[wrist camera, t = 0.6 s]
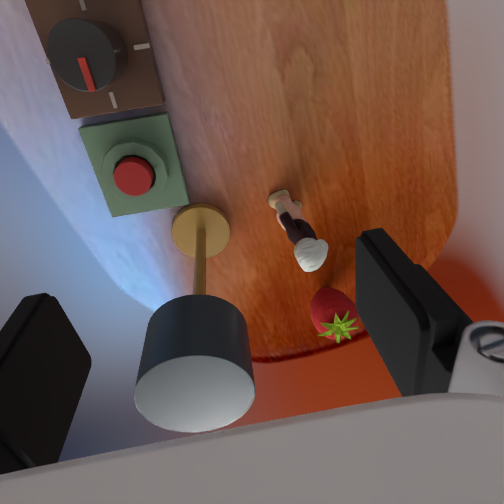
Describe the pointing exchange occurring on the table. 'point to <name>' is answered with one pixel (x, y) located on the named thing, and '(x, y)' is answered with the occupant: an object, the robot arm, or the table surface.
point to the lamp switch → (133, 176)
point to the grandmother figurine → (299, 231)
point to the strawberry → (333, 314)
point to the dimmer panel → (137, 45)
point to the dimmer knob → (86, 53)
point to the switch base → (143, 146)
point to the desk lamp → (196, 342)
